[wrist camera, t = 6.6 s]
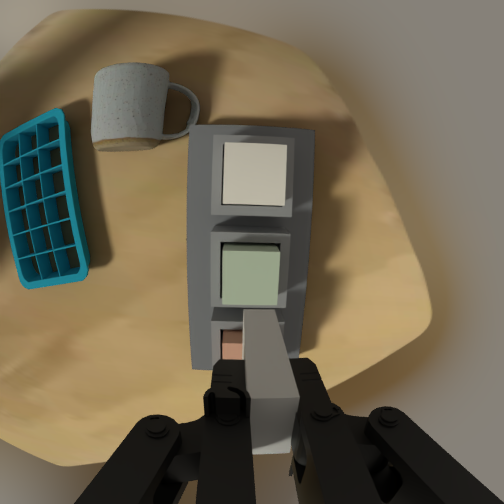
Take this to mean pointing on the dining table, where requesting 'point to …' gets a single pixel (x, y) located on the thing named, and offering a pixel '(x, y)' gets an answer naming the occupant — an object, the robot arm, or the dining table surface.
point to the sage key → (250, 273)
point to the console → (245, 234)
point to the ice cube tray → (4, 168)
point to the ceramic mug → (133, 107)
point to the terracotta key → (232, 344)
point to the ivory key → (254, 174)
